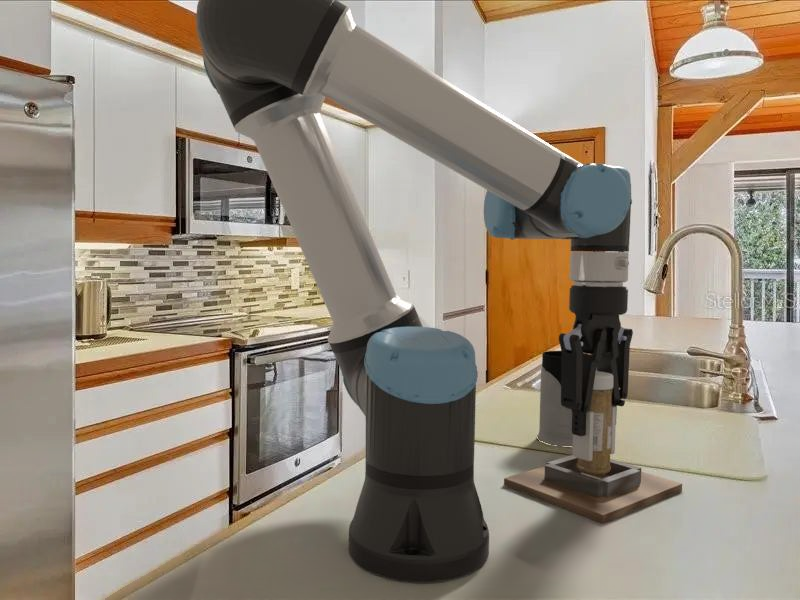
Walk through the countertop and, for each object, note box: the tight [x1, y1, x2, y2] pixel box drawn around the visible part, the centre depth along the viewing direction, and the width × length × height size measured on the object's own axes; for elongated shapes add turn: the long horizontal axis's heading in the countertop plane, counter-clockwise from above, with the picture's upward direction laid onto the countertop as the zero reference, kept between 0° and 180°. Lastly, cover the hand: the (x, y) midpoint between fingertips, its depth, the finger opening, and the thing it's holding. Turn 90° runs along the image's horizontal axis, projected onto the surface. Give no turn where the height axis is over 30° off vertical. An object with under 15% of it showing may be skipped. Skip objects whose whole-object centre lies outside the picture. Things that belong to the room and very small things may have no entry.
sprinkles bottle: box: [577, 371, 613, 475], centre depth 90 cm, size 5×5×13 cm
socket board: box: [503, 454, 683, 524], centre depth 90 cm, size 18×16×3 cm
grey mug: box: [536, 350, 597, 446], centre depth 113 cm, size 9×14×15 cm, turn 100°
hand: (593, 454), depth 90 cm, fingers closed on sprinkles bottle, 4 cm apart
